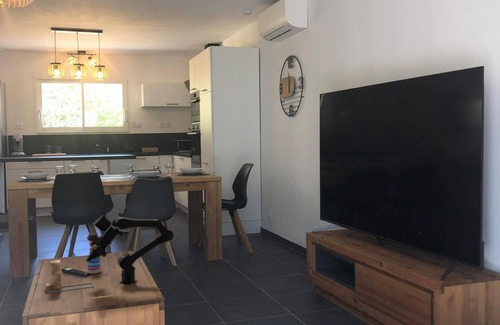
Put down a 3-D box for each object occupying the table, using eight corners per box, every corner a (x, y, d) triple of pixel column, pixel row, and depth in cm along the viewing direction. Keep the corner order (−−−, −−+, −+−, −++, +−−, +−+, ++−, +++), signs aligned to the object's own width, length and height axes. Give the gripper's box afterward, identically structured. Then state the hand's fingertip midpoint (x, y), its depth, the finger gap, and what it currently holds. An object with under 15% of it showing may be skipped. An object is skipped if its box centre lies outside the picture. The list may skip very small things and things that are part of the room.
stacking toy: (97, 274, 293) (96, 240, 292) (84, 273, 295) (83, 240, 294) (104, 270, 301) (103, 238, 300) (91, 270, 303) (90, 237, 302)
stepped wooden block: (60, 287, 265) (59, 259, 265) (61, 290, 260) (60, 262, 260) (45, 289, 263) (44, 261, 262) (46, 292, 258) (45, 263, 257)
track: (91, 284, 273) (91, 282, 273) (93, 288, 265) (93, 286, 265) (46, 290, 264) (46, 287, 264) (46, 294, 257) (46, 291, 257)
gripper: (93, 224, 277) (72, 247, 273) (99, 230, 260) (76, 255, 256) (109, 238, 281) (89, 261, 277) (116, 244, 264) (93, 269, 260)
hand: (86, 261), depth 267 cm, fingers closed
